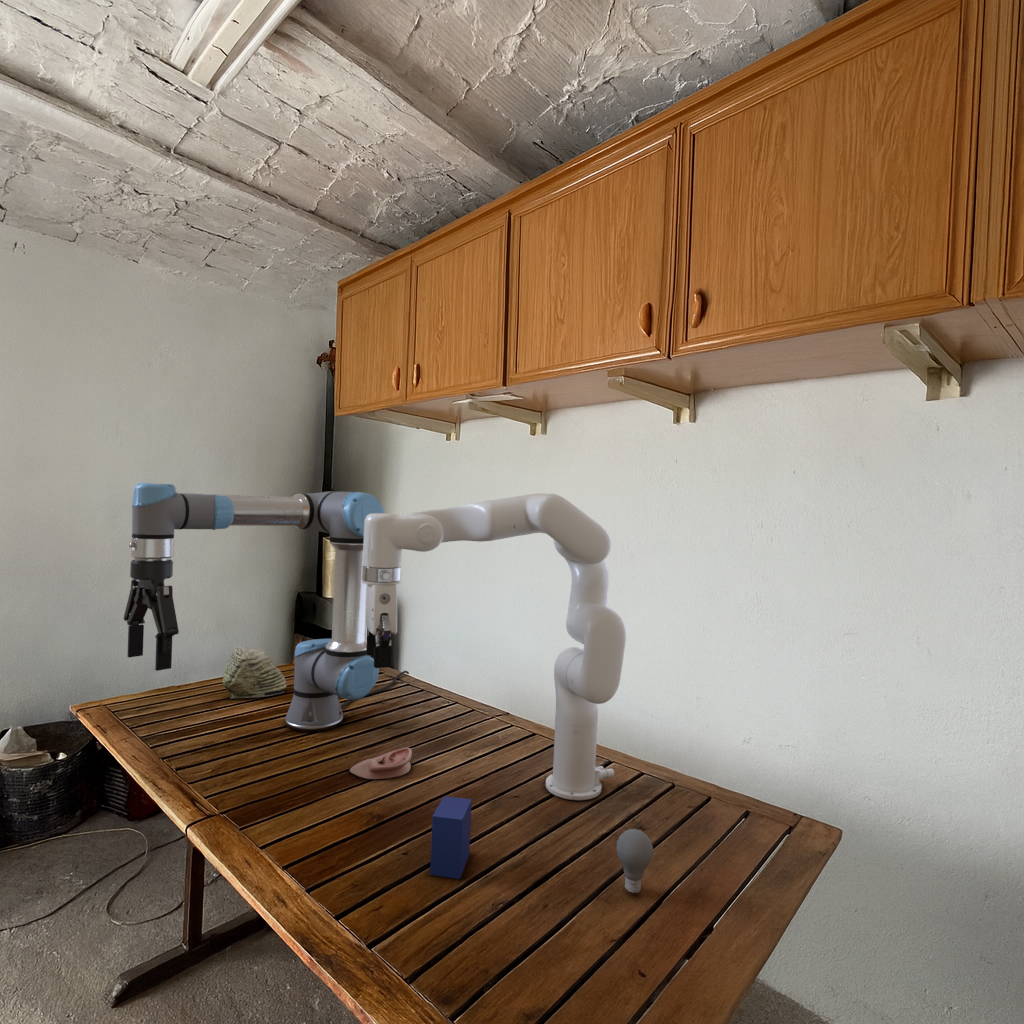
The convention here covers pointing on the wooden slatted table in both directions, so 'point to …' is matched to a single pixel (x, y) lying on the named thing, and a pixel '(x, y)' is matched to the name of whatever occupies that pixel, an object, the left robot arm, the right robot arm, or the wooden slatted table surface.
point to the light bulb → (634, 857)
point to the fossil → (252, 674)
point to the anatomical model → (384, 765)
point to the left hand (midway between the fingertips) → (148, 662)
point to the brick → (450, 837)
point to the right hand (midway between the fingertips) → (378, 660)
